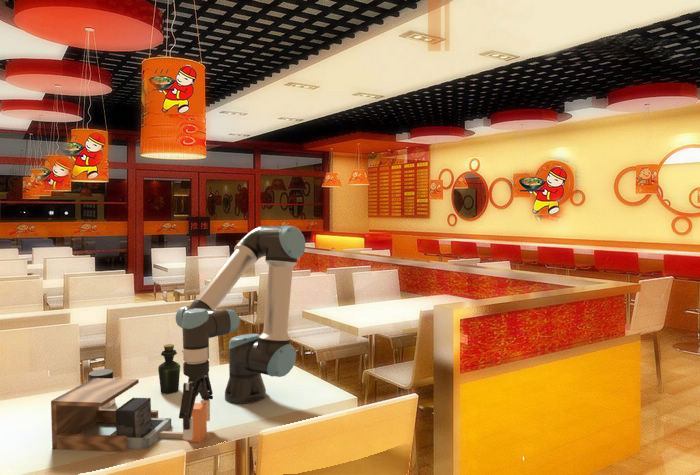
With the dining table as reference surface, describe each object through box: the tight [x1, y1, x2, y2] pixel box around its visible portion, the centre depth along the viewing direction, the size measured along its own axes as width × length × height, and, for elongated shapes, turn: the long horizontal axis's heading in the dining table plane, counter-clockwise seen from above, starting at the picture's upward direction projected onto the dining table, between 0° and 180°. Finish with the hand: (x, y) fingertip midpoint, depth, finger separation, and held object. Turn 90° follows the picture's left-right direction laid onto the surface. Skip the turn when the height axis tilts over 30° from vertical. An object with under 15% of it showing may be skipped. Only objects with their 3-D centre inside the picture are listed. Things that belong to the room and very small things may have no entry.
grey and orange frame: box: [110, 402, 208, 450], centre depth 156 cm, size 27×16×10 cm, turn 85°
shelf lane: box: [50, 378, 159, 453], centre depth 157 cm, size 22×21×14 cm
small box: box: [115, 397, 153, 438], centre depth 156 cm, size 11×6×10 cm, turn 176°
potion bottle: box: [157, 343, 181, 395], centre depth 196 cm, size 8×8×18 cm
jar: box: [87, 368, 116, 409], centre depth 182 cm, size 9×8×12 cm
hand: (197, 429), depth 155 cm, fingers open, 13 cm apart
